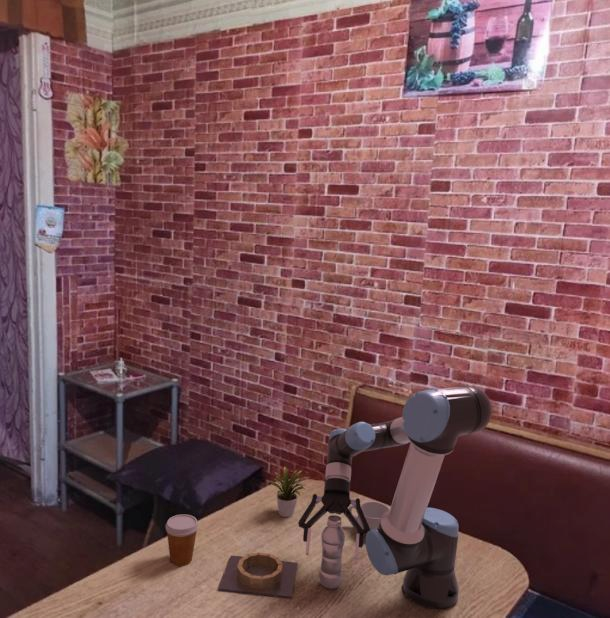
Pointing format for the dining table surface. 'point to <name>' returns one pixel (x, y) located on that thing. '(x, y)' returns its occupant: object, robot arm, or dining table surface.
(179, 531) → the disposable coffee cup
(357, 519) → the teacup
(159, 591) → the dining table surface
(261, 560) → the collar stand
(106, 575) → the dining table surface
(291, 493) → the house plant
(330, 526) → the plastic bottle
